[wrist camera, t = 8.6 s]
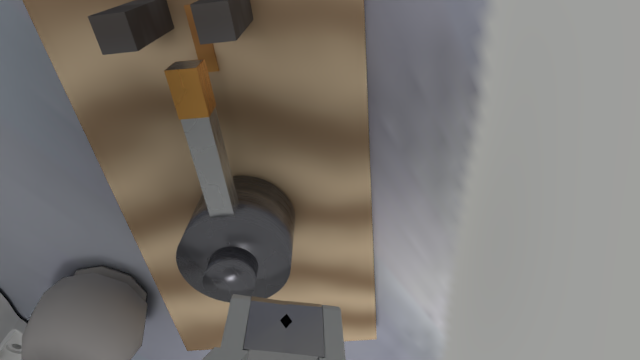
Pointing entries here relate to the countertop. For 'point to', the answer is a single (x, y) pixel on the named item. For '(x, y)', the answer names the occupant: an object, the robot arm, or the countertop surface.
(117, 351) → the potion bottle
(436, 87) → the countertop surface
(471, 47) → the countertop surface
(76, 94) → the stand
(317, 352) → the robot arm
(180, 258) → the capstan
